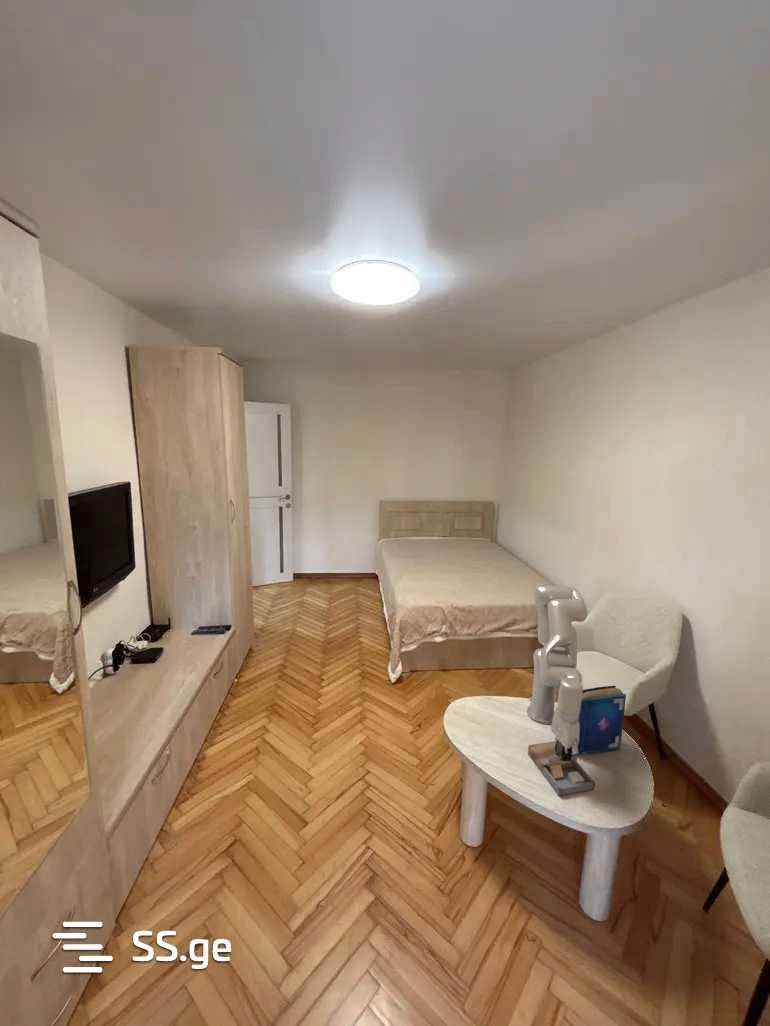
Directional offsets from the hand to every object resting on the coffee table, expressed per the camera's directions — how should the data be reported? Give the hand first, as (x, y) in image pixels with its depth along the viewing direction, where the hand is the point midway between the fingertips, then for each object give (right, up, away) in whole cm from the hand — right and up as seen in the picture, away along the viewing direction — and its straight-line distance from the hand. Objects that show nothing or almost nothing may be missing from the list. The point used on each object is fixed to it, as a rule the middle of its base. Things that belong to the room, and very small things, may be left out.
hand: (562, 755), depth 155 cm
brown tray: (-1, -6, +7) cm, 10 cm away
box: (+1, -8, -3) cm, 9 cm away
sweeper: (0, -3, +1) cm, 3 cm away
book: (+17, -6, +14) cm, 23 cm away
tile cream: (+4, -6, -3) cm, 8 cm away
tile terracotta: (-3, -6, 0) cm, 6 cm away
